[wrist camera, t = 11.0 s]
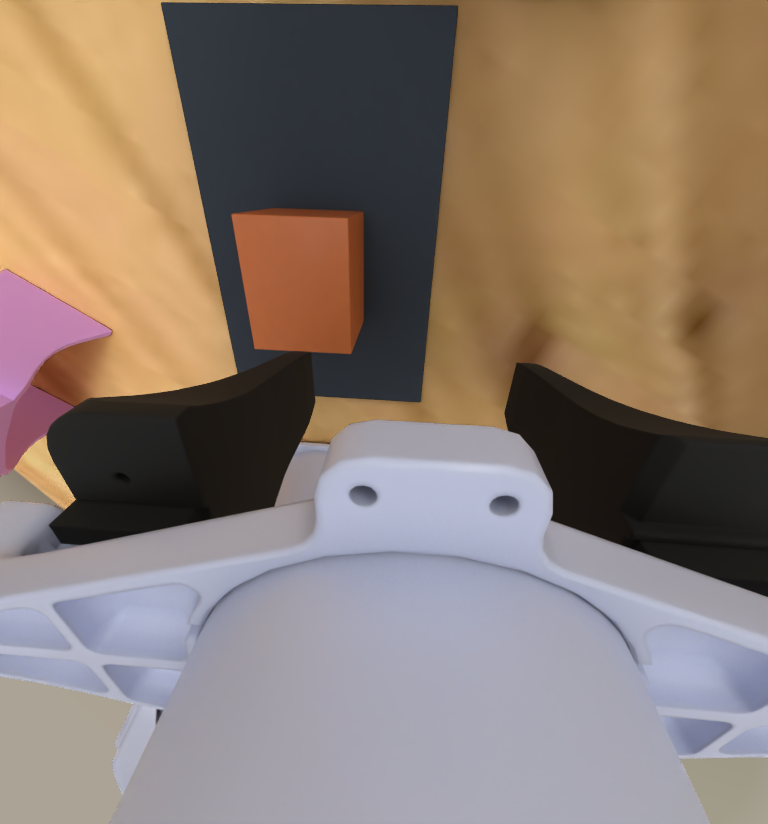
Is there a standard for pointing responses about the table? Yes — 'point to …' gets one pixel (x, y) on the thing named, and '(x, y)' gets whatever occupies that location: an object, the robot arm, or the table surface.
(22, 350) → the toy chair
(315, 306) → the orange box
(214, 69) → the back mat
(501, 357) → the table surface
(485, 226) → the table surface
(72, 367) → the table surface
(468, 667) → the robot arm
